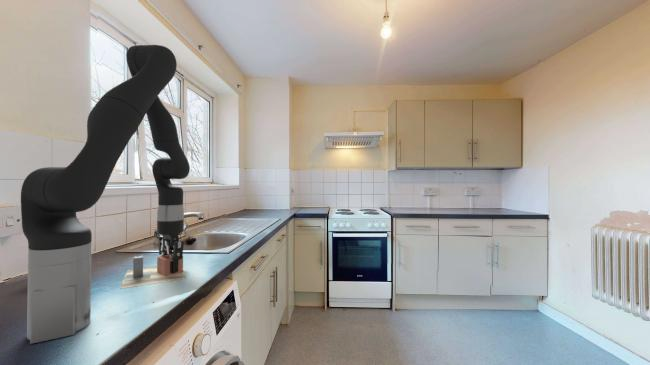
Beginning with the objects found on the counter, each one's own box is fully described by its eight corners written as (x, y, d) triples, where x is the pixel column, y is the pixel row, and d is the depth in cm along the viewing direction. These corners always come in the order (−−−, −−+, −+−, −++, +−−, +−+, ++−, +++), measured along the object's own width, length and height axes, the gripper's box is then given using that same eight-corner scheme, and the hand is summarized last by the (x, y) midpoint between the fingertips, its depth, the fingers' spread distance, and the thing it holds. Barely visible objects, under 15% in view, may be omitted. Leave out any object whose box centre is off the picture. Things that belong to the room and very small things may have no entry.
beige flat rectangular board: (185, 282, 81) (186, 277, 81) (119, 293, 72) (120, 288, 72) (182, 266, 96) (182, 262, 96) (127, 273, 88) (127, 269, 88)
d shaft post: (142, 280, 81) (142, 257, 82) (133, 282, 80) (133, 258, 80) (143, 278, 84) (143, 255, 84) (133, 279, 82) (134, 256, 82)
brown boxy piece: (185, 270, 87) (185, 255, 87) (164, 276, 82) (164, 260, 82) (178, 267, 91) (178, 252, 91) (157, 272, 86) (157, 256, 86)
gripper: (192, 219, 85) (192, 272, 85) (173, 215, 94) (173, 263, 94) (167, 222, 79) (166, 278, 79) (149, 217, 88) (148, 268, 88)
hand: (170, 270), depth 86 cm, fingers closed on brown boxy piece, 5 cm apart
